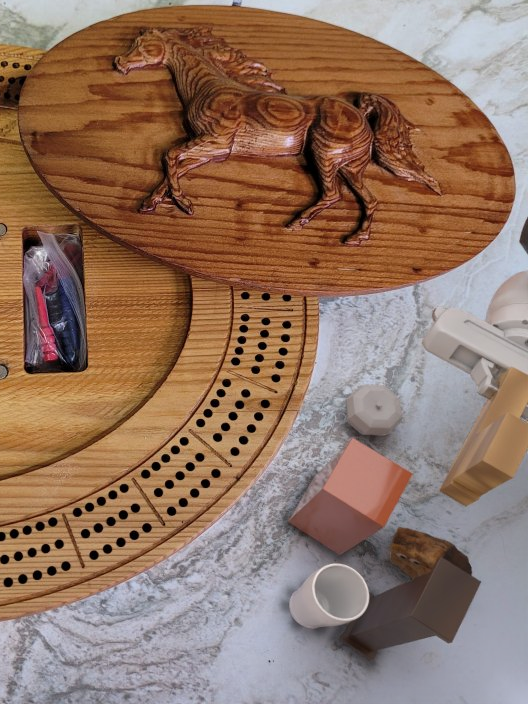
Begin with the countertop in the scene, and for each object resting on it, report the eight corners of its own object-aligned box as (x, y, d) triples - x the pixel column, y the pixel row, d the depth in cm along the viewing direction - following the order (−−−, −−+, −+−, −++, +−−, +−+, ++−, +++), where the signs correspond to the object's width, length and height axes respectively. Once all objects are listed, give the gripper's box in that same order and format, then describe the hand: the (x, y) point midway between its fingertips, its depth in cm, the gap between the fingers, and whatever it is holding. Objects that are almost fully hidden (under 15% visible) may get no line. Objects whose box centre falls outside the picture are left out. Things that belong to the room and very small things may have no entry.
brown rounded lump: (368, 560, 113) (395, 545, 104) (387, 524, 115) (415, 505, 106) (452, 613, 110) (489, 602, 100) (470, 575, 112) (508, 560, 102)
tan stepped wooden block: (525, 390, 92) (574, 354, 83) (465, 507, 86) (511, 482, 77) (499, 376, 92) (544, 339, 84) (438, 490, 87) (480, 464, 78)
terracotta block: (366, 508, 116) (413, 473, 100) (339, 555, 114) (384, 527, 98) (314, 476, 119) (352, 437, 103) (287, 521, 116) (322, 488, 100)
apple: (375, 387, 124) (390, 370, 118) (403, 434, 121) (419, 419, 115) (327, 404, 124) (340, 388, 118) (353, 452, 120) (368, 438, 114)
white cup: (323, 644, 109) (359, 632, 96) (275, 618, 111) (303, 603, 97) (341, 597, 111) (378, 579, 98) (293, 573, 113) (323, 552, 100)
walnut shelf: (395, 612, 110) (481, 581, 87) (369, 661, 108) (452, 643, 84) (363, 591, 112) (440, 556, 88) (338, 639, 109) (410, 615, 86)
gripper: (451, 283, 100) (431, 332, 90) (623, 372, 94) (623, 435, 84) (422, 321, 104) (400, 373, 94) (586, 409, 98) (582, 474, 88)
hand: (507, 403), depth 89 cm, fingers closed on tan stepped wooden block, 3 cm apart
